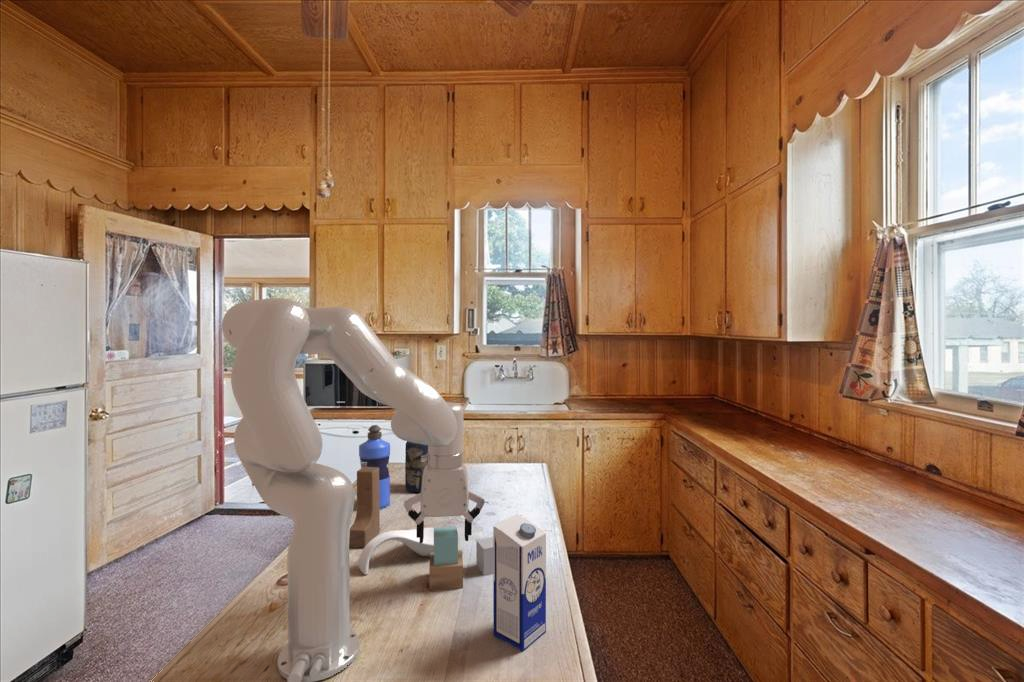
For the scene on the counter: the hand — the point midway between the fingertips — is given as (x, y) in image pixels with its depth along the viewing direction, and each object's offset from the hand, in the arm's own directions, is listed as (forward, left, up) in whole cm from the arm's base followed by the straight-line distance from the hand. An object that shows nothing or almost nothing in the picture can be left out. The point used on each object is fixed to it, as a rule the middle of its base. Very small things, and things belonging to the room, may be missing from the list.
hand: (444, 539), depth 101 cm
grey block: (+4, -10, -9) cm, 15 cm away
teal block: (0, 0, -4) cm, 4 cm away
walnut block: (0, 0, -9) cm, 9 cm away
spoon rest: (+13, +8, -10) cm, 18 cm away
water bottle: (+48, +22, -9) cm, 54 cm away
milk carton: (-20, -13, -9) cm, 26 cm away
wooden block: (+23, +21, -9) cm, 33 cm away
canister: (+61, +9, -9) cm, 63 cm away
